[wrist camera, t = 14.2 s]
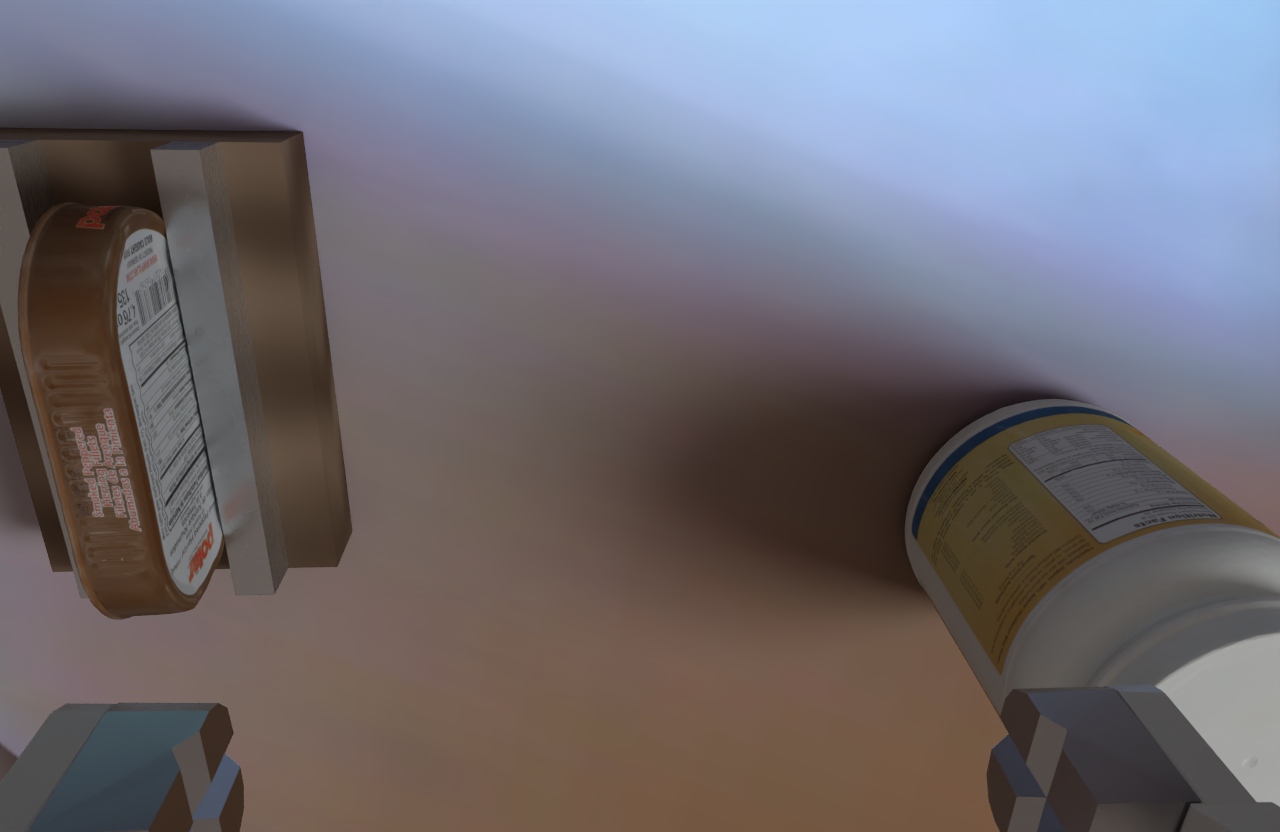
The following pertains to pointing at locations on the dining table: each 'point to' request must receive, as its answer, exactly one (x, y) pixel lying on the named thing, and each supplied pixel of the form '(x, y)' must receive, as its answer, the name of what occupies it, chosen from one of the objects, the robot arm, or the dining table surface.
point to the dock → (271, 310)
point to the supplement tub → (1103, 573)
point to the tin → (119, 407)
